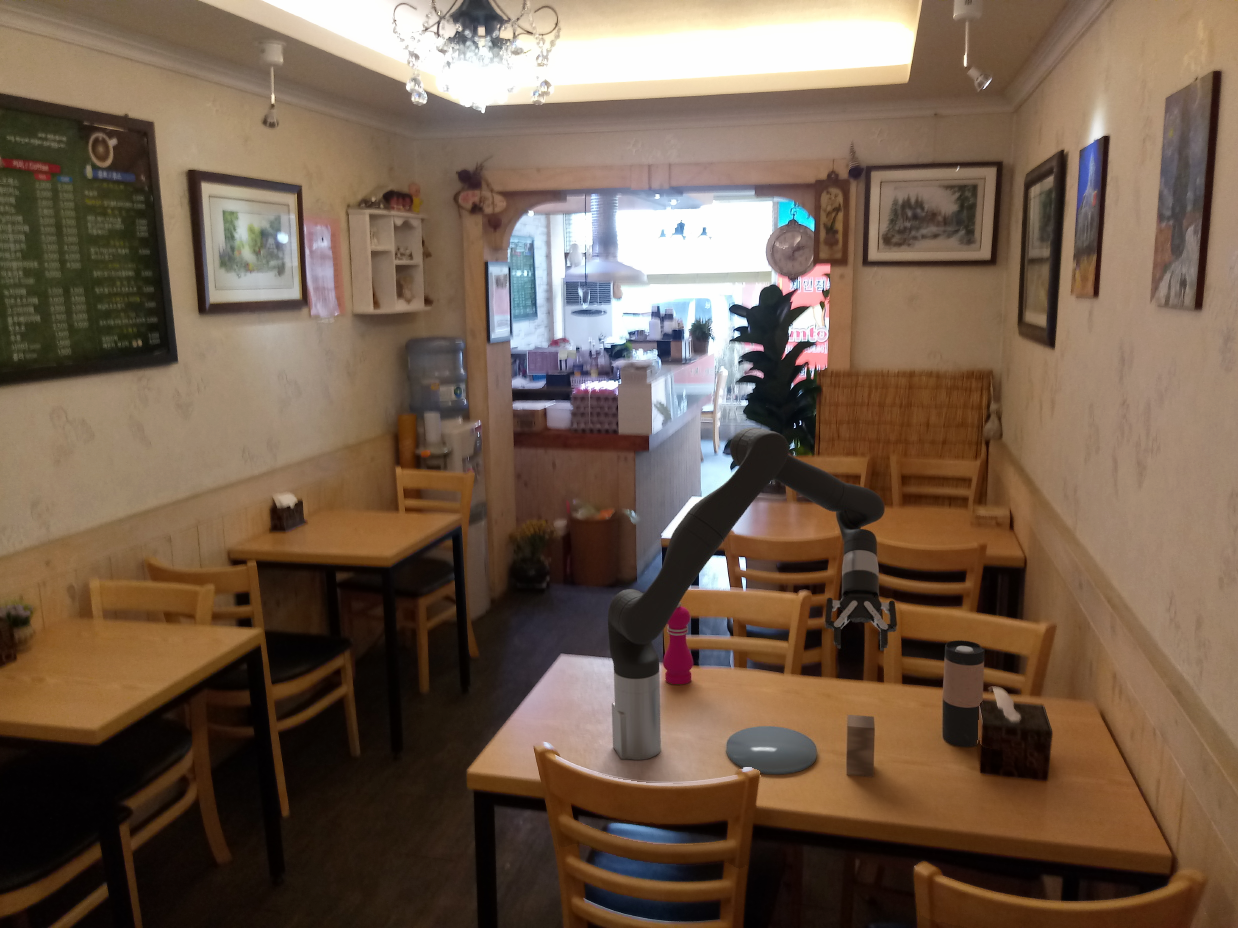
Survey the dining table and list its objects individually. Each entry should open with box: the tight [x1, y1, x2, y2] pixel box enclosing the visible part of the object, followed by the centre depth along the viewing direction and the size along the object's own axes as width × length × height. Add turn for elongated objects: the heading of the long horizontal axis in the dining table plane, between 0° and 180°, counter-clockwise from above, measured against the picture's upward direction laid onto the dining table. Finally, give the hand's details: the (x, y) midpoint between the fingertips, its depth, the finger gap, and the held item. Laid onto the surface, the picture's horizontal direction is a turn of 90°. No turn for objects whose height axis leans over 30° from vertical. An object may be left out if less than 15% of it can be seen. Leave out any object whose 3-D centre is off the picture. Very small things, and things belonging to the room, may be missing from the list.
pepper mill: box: [662, 601, 694, 685], centre depth 223 cm, size 7×7×20 cm
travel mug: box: [941, 639, 986, 748], centre depth 190 cm, size 8×8×20 cm
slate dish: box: [725, 725, 818, 775], centre depth 188 cm, size 18×18×1 cm
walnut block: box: [845, 714, 876, 778], centre depth 180 cm, size 5×5×10 cm
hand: (860, 648), depth 188 cm, fingers open, 8 cm apart
